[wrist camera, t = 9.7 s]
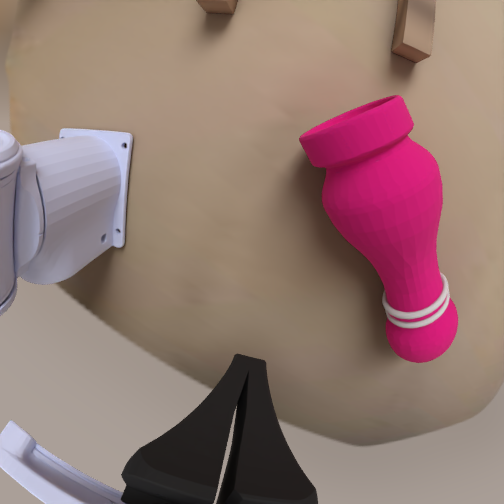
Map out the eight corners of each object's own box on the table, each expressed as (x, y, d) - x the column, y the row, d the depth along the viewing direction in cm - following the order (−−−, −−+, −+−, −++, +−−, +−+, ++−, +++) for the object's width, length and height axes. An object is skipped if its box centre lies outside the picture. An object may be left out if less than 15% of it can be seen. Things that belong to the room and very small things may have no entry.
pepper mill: (339, 113, 18) (415, 317, 24) (266, 153, 15) (373, 374, 22) (426, 84, 11) (477, 333, 18) (367, 116, 9) (440, 403, 15)
